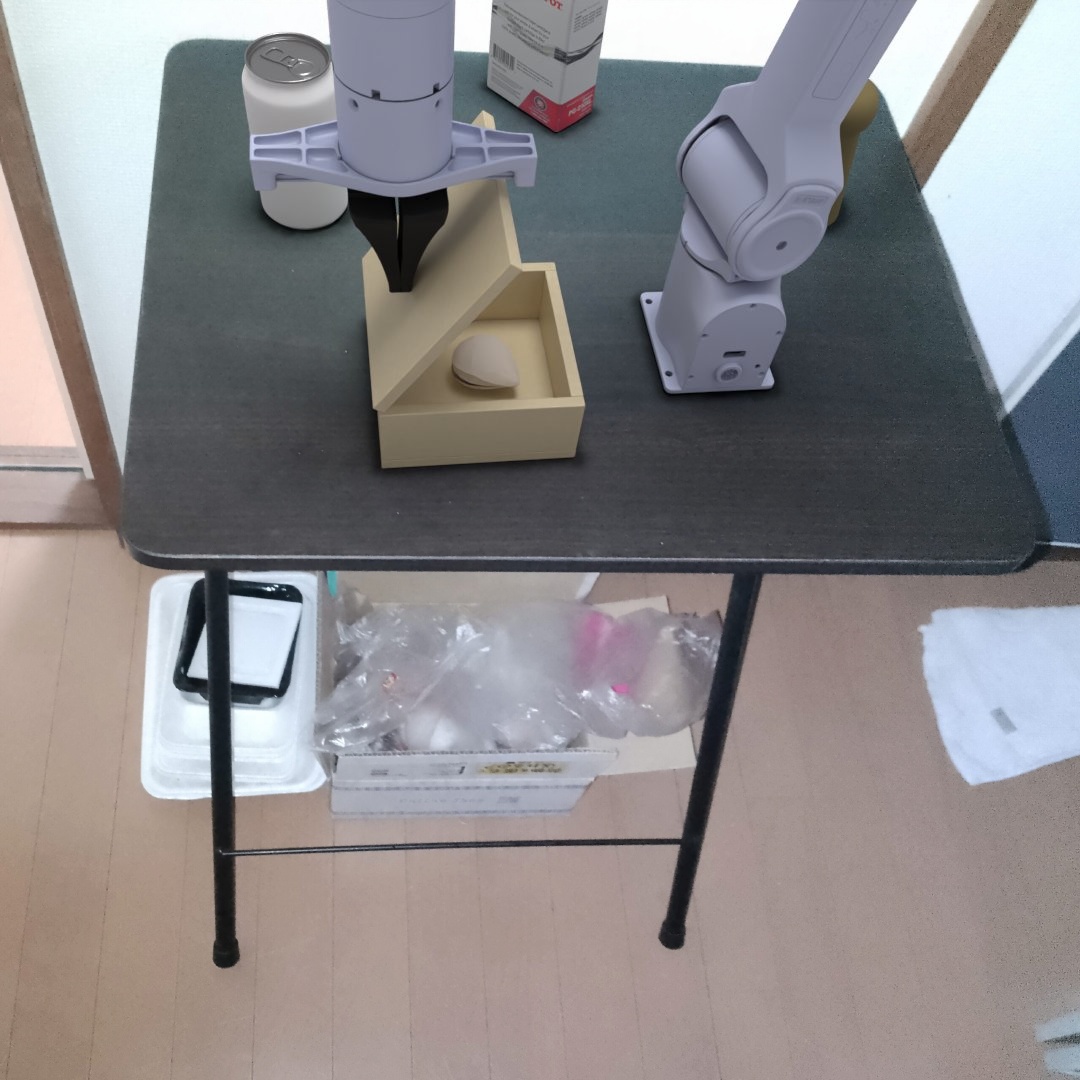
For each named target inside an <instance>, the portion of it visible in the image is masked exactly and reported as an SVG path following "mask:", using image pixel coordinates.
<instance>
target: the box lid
mask: <svg viewBox="0 0 1080 1080" xmlns="http://www.w3.org/2000/svg"><path fill="white" fill-rule="evenodd" d="M471 125H476V126H481V127H485V128H490V129H494V130H497V129H496V123H495V118H494V116H493V115H492V114H490V113H489V112H487V111H486V110H483V109H482V110H481V112H480V113H479V114H478V115H477V116H476V118H475V119H474V120H473V121H472V122H471ZM447 193H448V200H449V211H448V216H447V219H446V222H445V224H444V225H443V226H442V227H441V229H440V230H439V231H438V232H437V233H436V234H435V236H434V237H433V238H432V240H431V241H430V243H429V244H428V246H427V248H426V249H425V251H424V253H423V255H422V257H421V260H420V262H419V264H418V267H417V270H416V273H415V276H414V280H413V284H412V291H411V292H403V293H391V292H389V285H388V281H387V278H386V274H385V272H384V269H383V267H382V264H381V262H380V260H379V258H378V256H377V254H376V253H375V251H374V249H373V248H372V246H371V247H370V248H369V250H368V251H367V252H366V253H365V255H364V256H363V257H362V259H361V266H362V267H361V268H362V279H363V281H362V282H363V292H364V293H363V294H364V307H365V320H366V321H365V322H366V335H367V346H368V347H367V348H368V359H369V360H368V361H369V373H370V387H371V402H372V409H373V410H375V411H377V410H378V411H381V412H383V413H384V412H385V411H386V410H387V409H388V408H389V407H390V406H391V405H392V404H393V403H394V402H395V401H396V400H397V399H398V398H399V397H400V396H401V395H402V394H403V393H404V392H405V391H406V390H407V389H408V388H409V387H410V386H411V385H412V383H413V382H414V381H415V380H416V379H417V378H418V377H419V376H420V375H421V374H422V373H423V372H424V371H425V370H426V369H427V368H428V367H429V366H430V365H431V364H432V363H433V362H434V361H435V360H436V359H437V358H438V357H439V356H440V355H441V354H442V353H443V352H444V351H445V349H446V348H447V347H448V346H449V345H450V344H451V343H452V342H453V341H454V340H455V339H456V338H457V337H458V336H459V335H460V334H461V333H462V332H463V331H464V330H465V329H466V328H467V327H468V326H469V325H470V324H471V323H472V322H473V321H474V320H475V319H476V318H477V317H478V316H479V314H480V313H481V312H482V311H483V310H484V309H485V308H486V307H487V306H488V305H489V304H490V303H491V302H492V301H493V300H494V299H495V298H496V297H497V296H498V295H499V294H500V293H501V292H502V291H503V290H504V289H505V288H506V287H507V286H508V285H509V284H510V283H511V282H512V280H513V279H514V278H515V277H516V276H517V275H518V274H519V273H520V272H521V271H522V270H523V269H522V264H521V263H522V259H521V254H520V249H519V242H518V239H517V233H516V228H515V227H516V226H515V222H514V218H513V212H512V207H511V206H512V205H511V201H510V197H509V191H508V186H507V179H493V180H473V181H469V182H465V183H462V184H458V185H454V186H450V187H447ZM397 221H398V222H399V213H398V214H397ZM397 237H398V228H397Z"/></svg>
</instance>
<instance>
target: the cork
mask: <svg viewBox="0 0 1080 1080" xmlns="http://www.w3.org/2000/svg"><path fill="white" fill-rule="evenodd" d="M879 107H880V95H879V91H878V88H877V86H876V85H875V83H874V82H873V81H872V80H871V79H870V78H869V79H868V81H867V82H866V84H865V85H864V87H863V89H862V90H861V92H860V94H859V95H858V97H857V98H856V100H855V102H854V103H853V105H852V106H851V108H850V110H849V111H848V113H847V115H846V116H845V118H844V119H843V121H842V123H841V124H840V143H841V154H842V165H843V177H844V185H843V189H842V191H841V192H840V194H839V195H838V197H837V198H836V200H835V202H834V204H833V205H832V207H831V210H830V212H829V215H828V221H827V228H828V227H829V226H831V225H832V224H834V223H835V222H836V220H837V218H838V217H839V213H840V210H841V205H842V202H843V200H844V195H845V192H846V188H847V184H848V181H849V177H850V172H851V169H852V165H853V161H854V158H855V156H856V155H855V154H856V150H857V147H858V143H859V140H860V136H861V133H863V132H864V131H865V130H867V129H868V128H869V126H870V125H871V124H872V123H873V121H874V119H875V117H876V116H877V113H878V111H879Z"/></svg>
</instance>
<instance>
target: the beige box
mask: <svg viewBox="0 0 1080 1080" xmlns="http://www.w3.org/2000/svg"><path fill="white" fill-rule="evenodd" d="M521 264H522V269H523V270H522V271H521V272H520V273H519V274H518V275H517V276H516V277H515V278H514V279H513V280H512V282H511V283H510V284H509V285H508V286H507V287H506V288H505V289H504V290H503V291H502V292H501V293H500V294H499V295H498V296H497V297H496V298H495V299H494V300H493V301H492V302H491V303H490V304H489V305H488V306H487V307H486V308H485V309H484V310H483V311H482V312H481V313H480V314H479V316H478V317H477V318H476V319H475V320H474V321H473V322H472V323H471V324H470V325H469V326H468V327H467V328H466V329H465V330H464V331H463V332H462V333H461V334H460V335H459V336H458V337H457V338H456V339H455V340H454V341H453V342H452V343H451V344H450V345H449V346H448V347H447V348H446V349H445V351H444V352H443V353H442V354H441V355H440V356H439V357H438V358H437V359H436V360H435V361H434V362H433V363H432V364H431V365H430V366H429V367H428V368H427V369H426V370H425V371H424V372H423V373H422V374H421V375H420V376H419V377H418V378H417V379H416V380H415V381H414V382H413V383H412V385H411V386H410V387H409V388H408V389H407V390H406V391H405V392H404V393H403V394H402V395H401V396H400V397H399V398H398V399H397V400H396V401H395V402H394V403H393V404H392V405H391V406H390V407H389V408H388V409H387V410H386V411H385V412H384V413H383V412H381V411H378V410H376V411H377V422H378V423H377V425H378V437H379V438H378V439H379V449H380V451H379V452H380V462H381V464H380V465H381V469H392V468H393V469H394V468H395V469H396V468H413V467H428V466H429V467H430V466H444V465H445V466H446V465H447V466H448V465H462V464H463V465H464V464H480V463H496V462H497V463H498V462H513V461H529V460H530V461H531V460H548V459H549V460H550V459H565V458H575V457H576V452H577V446H578V441H579V437H580V432H581V428H582V423H583V419H584V415H585V409H586V401H585V398H584V391H583V387H582V382H581V377H580V373H579V369H578V364H577V360H576V355H575V351H574V346H573V345H574V344H573V342H572V341H573V340H572V337H571V332H570V326H569V322H568V318H567V313H566V309H565V303H564V300H563V294H562V291H561V285H560V282H559V277H558V272H557V269H556V268H557V267H556V263H555V261H554V262H552V261H551V262H550V261H549V262H521ZM479 334H489V335H494V336H496V337H497V338H499V339H501V340H502V341H503V342H504V344H505V345H506V346H507V347H508V349H509V350H510V352H511V353H512V356H513V358H514V360H515V363H516V366H517V369H518V373H519V379H520V384H519V385H518V386H514V387H504V388H496V389H473V388H470V387H467V386H464V385H463V384H461V383H460V382H458V381H457V380H456V379H455V377H454V375H453V373H452V367H451V365H452V355H453V352H454V350H455V349H456V347H457V346H458V345H459V343H461V342H462V341H464V340H465V339H467V338H469V337H471V336H474V335H479Z"/></svg>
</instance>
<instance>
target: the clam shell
mask: <svg viewBox="0 0 1080 1080" xmlns="http://www.w3.org/2000/svg"><path fill="white" fill-rule="evenodd" d="M451 367H452V373H453V375H454V377H455V379H456V380H457V381H458V382H460V383H461V384H463V385H464V386H467V387H470V388H473V389H496V388H504V387H514V386H518V385H519V384H520V379H519V373H518V369H517V366H516V363H515V360H514V358H513V356H512V353H511V352H510V350H509V349H508V347H507V346H506V345H505V344H504V342H503V341H502V340H501V339H499V338H497V337H496V336H494V335H489V334H479V335H474V336H471V337H469V338H467V339H465V340H464V341H462V342H461V343H459V345H458V346H457V347H456V349H455V350H454V352H453V355H452V365H451Z"/></svg>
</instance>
